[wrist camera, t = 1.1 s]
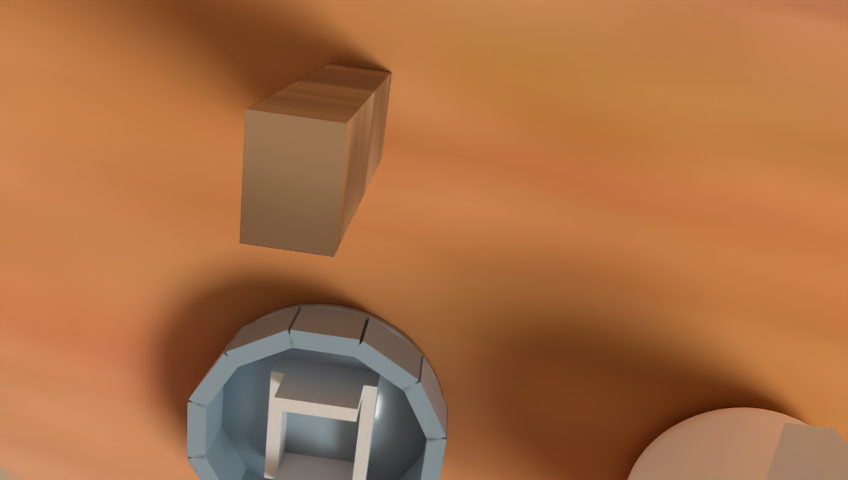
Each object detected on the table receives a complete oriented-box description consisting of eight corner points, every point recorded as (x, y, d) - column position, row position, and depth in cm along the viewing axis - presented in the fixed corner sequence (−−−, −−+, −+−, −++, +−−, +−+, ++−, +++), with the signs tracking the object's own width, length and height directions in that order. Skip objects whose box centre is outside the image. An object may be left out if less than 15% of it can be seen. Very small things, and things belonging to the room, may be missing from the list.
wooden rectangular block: (330, 63, 26) (245, 108, 16) (391, 72, 26) (346, 123, 16) (322, 149, 27) (239, 243, 17) (381, 157, 27) (333, 257, 17)
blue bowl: (213, 286, 30) (181, 324, 26) (461, 322, 30) (461, 364, 26) (207, 488, 34) (178, 543, 30) (427, 520, 34) (423, 579, 30)
